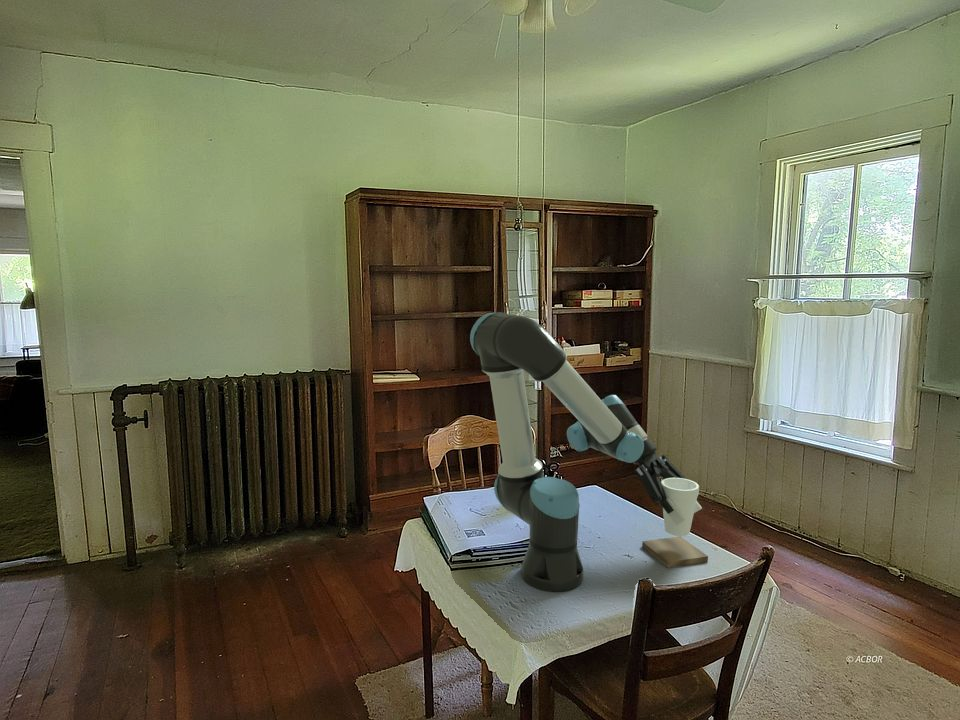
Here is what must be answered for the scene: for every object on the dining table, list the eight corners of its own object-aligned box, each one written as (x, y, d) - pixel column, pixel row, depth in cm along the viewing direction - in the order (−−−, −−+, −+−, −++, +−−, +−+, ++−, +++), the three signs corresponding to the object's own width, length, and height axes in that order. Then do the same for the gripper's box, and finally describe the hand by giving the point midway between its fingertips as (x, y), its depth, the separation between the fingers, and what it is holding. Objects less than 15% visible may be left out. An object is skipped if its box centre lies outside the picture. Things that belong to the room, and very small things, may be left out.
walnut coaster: (667, 567, 153) (667, 562, 153) (642, 546, 164) (642, 541, 164) (707, 561, 156) (708, 556, 156) (680, 541, 168) (680, 536, 167)
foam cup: (700, 539, 155) (704, 491, 153) (664, 538, 155) (667, 490, 153) (688, 523, 164) (691, 477, 162) (654, 522, 164) (657, 477, 162)
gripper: (647, 444, 175) (697, 510, 167) (607, 462, 159) (659, 536, 151) (665, 429, 170) (717, 497, 162) (625, 447, 155) (680, 523, 146)
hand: (689, 516), depth 157 cm, fingers closed on foam cup, 9 cm apart
